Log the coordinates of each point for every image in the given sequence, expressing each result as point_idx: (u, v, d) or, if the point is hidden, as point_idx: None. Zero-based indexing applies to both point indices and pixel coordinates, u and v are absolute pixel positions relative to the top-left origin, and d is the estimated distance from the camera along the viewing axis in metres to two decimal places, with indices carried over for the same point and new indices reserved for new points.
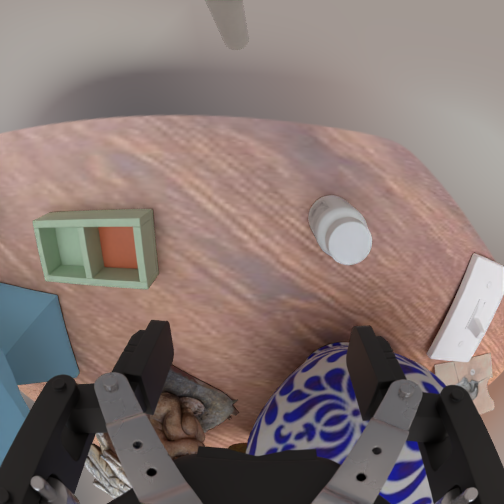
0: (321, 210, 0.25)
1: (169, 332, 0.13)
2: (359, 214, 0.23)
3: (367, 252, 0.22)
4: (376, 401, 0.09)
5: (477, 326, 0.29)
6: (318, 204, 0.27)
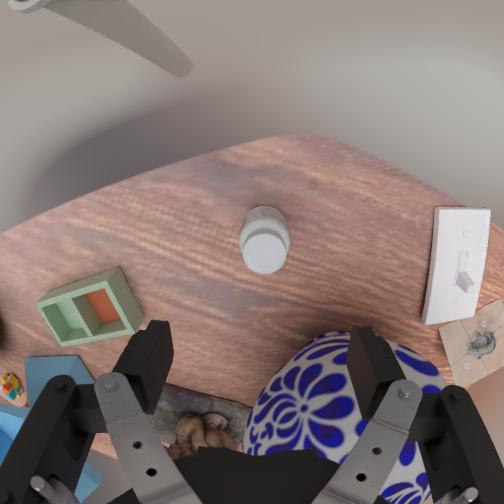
0: (242, 227, 0.28)
1: (169, 332, 0.13)
2: (272, 221, 0.25)
3: (284, 256, 0.24)
4: (376, 401, 0.09)
5: (464, 280, 0.29)
6: (244, 220, 0.29)
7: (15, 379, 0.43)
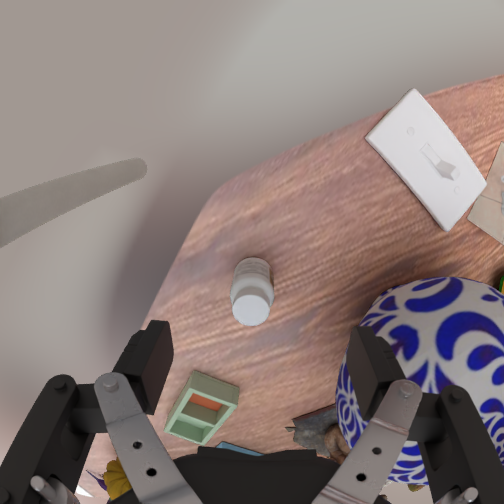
0: None
1: (169, 332, 0.13)
2: (241, 281, 0.29)
3: (264, 302, 0.27)
4: (376, 401, 0.09)
5: (444, 171, 0.26)
6: None
7: None
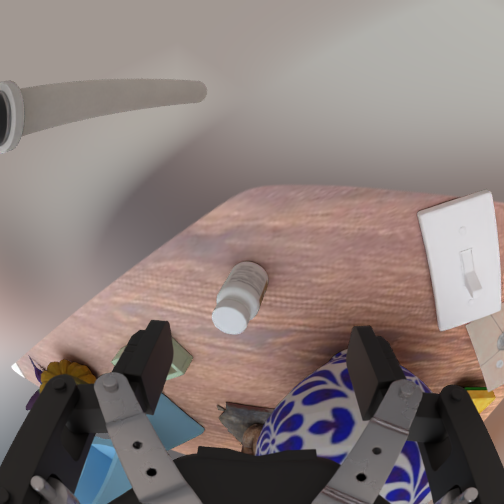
0: None
1: (169, 332, 0.13)
2: (234, 288, 0.29)
3: (244, 320, 0.28)
4: (376, 401, 0.09)
5: (469, 285, 0.25)
6: None
7: None
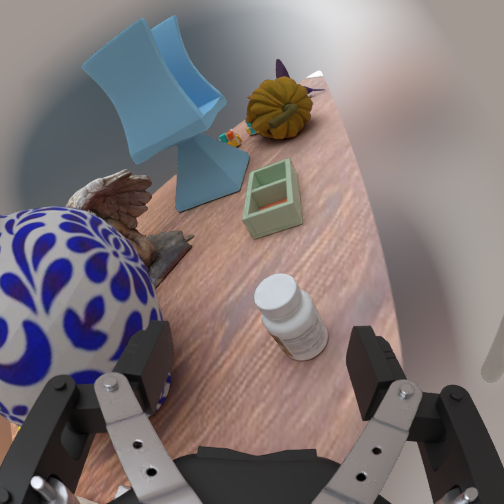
0: None
1: (169, 332, 0.13)
2: (306, 316, 0.23)
3: (266, 307, 0.22)
4: (376, 401, 0.09)
5: None
6: None
7: (234, 145, 0.73)
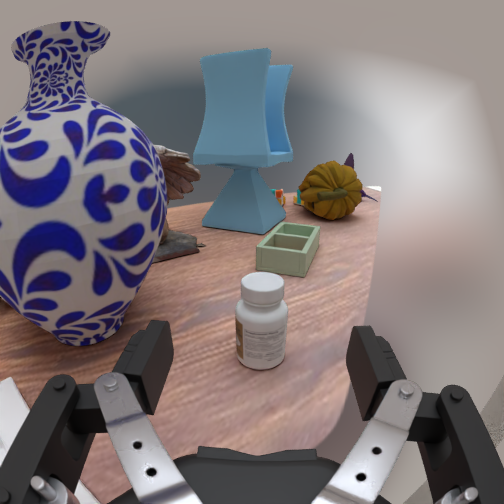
0: None
1: (169, 332, 0.13)
2: (277, 317, 0.24)
3: (249, 287, 0.23)
4: (376, 401, 0.09)
5: None
6: None
7: None
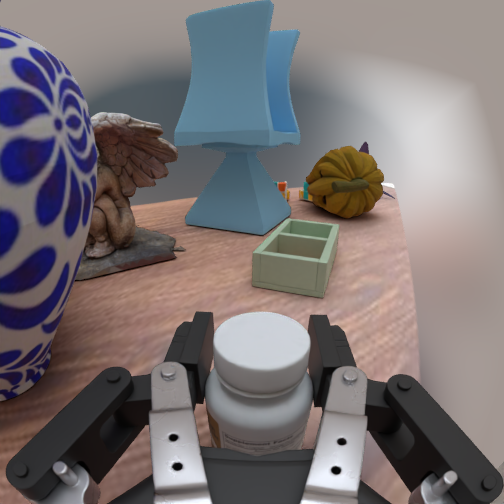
0: None
1: (212, 323, 0.13)
2: (293, 415, 0.10)
3: (229, 356, 0.09)
4: (325, 387, 0.10)
5: None
6: None
7: None
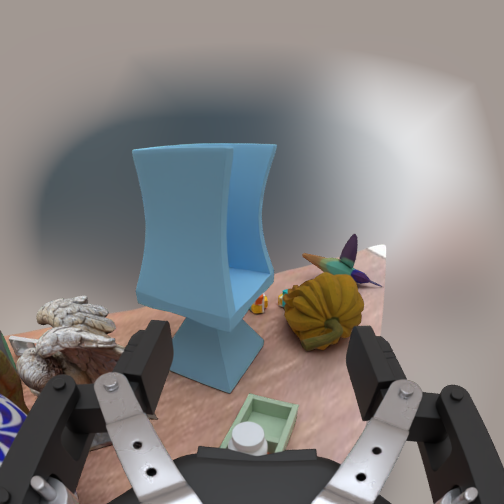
0: None
1: (169, 332, 0.13)
2: None
3: (237, 441, 0.27)
4: (376, 401, 0.09)
5: None
6: None
7: (257, 311, 0.65)
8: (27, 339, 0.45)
